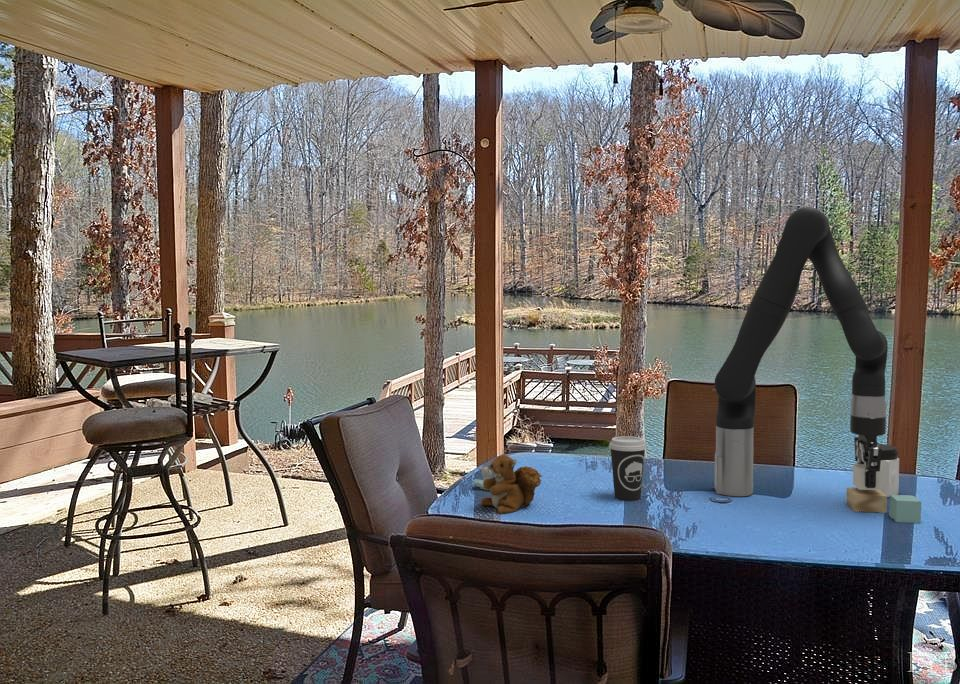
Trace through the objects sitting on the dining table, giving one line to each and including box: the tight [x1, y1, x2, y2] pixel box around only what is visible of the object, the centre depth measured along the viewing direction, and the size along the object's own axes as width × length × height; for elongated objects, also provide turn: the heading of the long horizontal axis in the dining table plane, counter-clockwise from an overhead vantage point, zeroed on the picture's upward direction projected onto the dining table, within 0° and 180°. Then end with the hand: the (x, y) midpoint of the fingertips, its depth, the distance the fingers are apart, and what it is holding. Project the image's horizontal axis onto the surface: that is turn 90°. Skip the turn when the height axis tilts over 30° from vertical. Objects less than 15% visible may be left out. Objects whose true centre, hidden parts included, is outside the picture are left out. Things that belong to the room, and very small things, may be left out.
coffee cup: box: [608, 435, 648, 502], centre depth 196 cm, size 10×10×15 cm
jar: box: [871, 443, 900, 498], centre depth 197 cm, size 9×8×12 cm
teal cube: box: [888, 494, 922, 524], centre depth 175 cm, size 5×5×5 cm
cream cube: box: [852, 463, 882, 490], centre depth 183 cm, size 5×5×5 cm
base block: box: [845, 486, 888, 514], centre depth 184 cm, size 7×7×4 cm
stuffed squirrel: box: [480, 453, 543, 515], centre depth 189 cm, size 10×14×13 cm
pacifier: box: [473, 466, 493, 491], centre depth 207 cm, size 7×6×6 cm
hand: (866, 484), depth 184 cm, fingers closed on cream cube, 5 cm apart
